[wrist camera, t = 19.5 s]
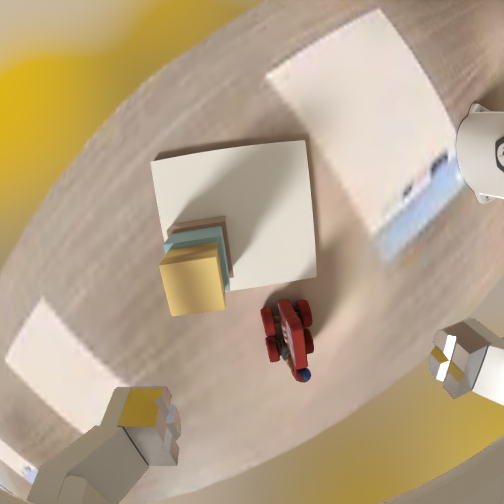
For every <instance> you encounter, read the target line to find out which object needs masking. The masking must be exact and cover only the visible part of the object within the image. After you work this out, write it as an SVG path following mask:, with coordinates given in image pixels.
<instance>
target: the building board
mask: <svg viewBox="0 0 504 504" xmlns="http://www.w3.org/2000/svg"><path fill="white" fill-rule="evenodd" d="M151 168H152V175H153V181H154V187H155V193H156V199H157V205H158V210H159V216H160V221H161V226H162V232H163V237H164V241H165V242H166V240H167V239H168V238H169V236H170V235H171V234H172V233H178V232H184V231H190V230H197V229H203V228H210V227H216V226H222V231H223V238H224V244H225V250H226V257H227V263H228V269H229V277H230V291H233V290H240V289H247V288H253V287H260V286H266V285H272V284H278V283H285V282H291V281H297V280H303V279H309V278H314V277H317V267H316V251H315V236H314V223H313V211H312V200H311V190H310V180H309V170H308V161H307V153H306V144H305V140H300V141H288V142H277V143H267V144H258V145H249V146H241V147H234V148H227V149H220V150H213V151H207V152H200V153H195V154H189V155H183V156H178V157H172V158H167V159H162V160H157V161H152V162H151ZM225 292H226V291H225Z"/></svg>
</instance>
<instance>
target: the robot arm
mask: <svg viewBox="0 0 504 504" xmlns="http://www.w3.org/2000/svg"><path fill="white" fill-rule="evenodd" d="M456 151H457V159H458V164H459V168H460V171H461V173H462V176H463V178H464V179H465V181H466V183H467V184H468V185H469V186H470V187H471V188H472V189H473V191H474V192H475V195H476V197H477V200H478V202H479V203H481V204H486V203H488V202H490V201H492V200H494V199H496V198H502V199H504V112H492V111H490V110H489V109H487V108H485V107H483V106H481V105H480V104H475V103H473V104H472V105H471V108H470V112H469V115H468V116H467V117H466V118H465V119H464V120H463V122H462V123H461V125H460V127H459V130H458V134H457V142H456ZM433 343H434V345H435V347H434V349H433V350H432V351H431V353H430V357H429V366H430V370H431V373H432V375H433V376H434V377H435V378H436V379H438V380H440V381H443V388H444V389H445V390H446V391H447V392H448V393H449V394H450V396H451V397H452V398H453V399H455V398H457V397H459V396H461V395H463V394H465V393H467V392H469V391H471V390H472V391H473V392H475V393H477V394H479V395H481V396H484V397H486V398H488V399H490V400H493V401H495V402H497V403H499V404H501V405H504V337H503V338H500V337H498V336H497V335H496V334H495V333H493V332H492V331H491V330H489V329H488V328H487V327H485V326H484V325H482V324H481V323H480V322H478V321H477V320H476V319H474V318H470V317H469V318H467V319H465V320H463V321H460V322H459V323H456V324H453V325H451V326H448V327H446V328H443V329H441V330H438V331H437V332H436V333H435V335H434V339H433ZM171 397H172V396H171V393H170V391H169V389H168V387H166V386H153V387H117V388H116V389H115V390H114V392H113V394H112V397H111V399H110V402H109V404H108V407H107V409H106V412H105V414H104V417H103V420H102V422H101V425H100V426H94V427H93V428H92V429H91V430H89V431H88V432H87V433H85V434H84V435H83V436H81V437H80V438H79V439H77V440H76V441H75V442H73V443H72V444H70V445H69V446H68V447H66V448H65V449H64V450H62V451H61V452H60V453H58V454H57V455H55V456H54V457H53V458H51V459H50V460H49V461H47V462H46V463H44V464H43V465H42V466H40V469H39V471H38V473H37V476H36V478H35V481H34V483H33V485H32V488H31V490H30V493H29V496H28V498H27V500H25V499H22V498H20V497H18V496H15V495H13V494H11V493H9V492H7V491H4V490H2V489H0V504H118V503H119V502H120V501H121V500H122V499H123V498H124V497H125V495H126V494H127V493H128V492H129V491H130V490H131V488H132V487H133V486H134V485H135V484H136V483H137V481H138V480H139V479H140V478H141V477H142V475H143V474H144V473H145V472H146V471H147V469H148V468H149V466H177V463H178V454H179V447H178V445H177V443H176V440H177V439H178V438H179V437H180V435H181V422H180V416H179V412H178V410H177V408H176V406H174V405H173V404H171ZM378 504H504V435H503V436H501V437H500V438H499V439H497V440H496V441H495V442H493V443H492V444H490V445H489V446H488V447H486V448H485V449H483V450H482V451H480V452H479V453H477V454H476V455H474V456H472V457H471V458H469V459H468V460H466V461H465V462H463V463H461V464H460V465H458V466H456V467H454V468H453V469H451V470H450V471H448V472H446V473H444V474H442V475H440V476H438V477H437V478H435V479H433V480H431V481H429V482H427V483H425V484H423V485H420V486H418V487H416V488H414V489H412V490H410V491H408V492H405V493H403V494H401V495H399V496H396V497H393V498H391V499H389V500H386V501H383V502H381V503H378Z"/></svg>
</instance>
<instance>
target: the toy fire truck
mask: <svg viewBox="0 0 504 504" xmlns="http://www.w3.org/2000/svg"><path fill="white" fill-rule="evenodd" d="M278 309H279V316H277V317H273V315H272V310H271V308H270V307H268V308H263V309H261V316H262V321H263V325H264V329H265V333H266V336H271V335H275V334H276V328H275V323H280V322H281V326H282V332H283V337H284V340H282V339H279V340H276V338H275V336H271V337H267V338H266V339H265V340H266V346H267V350H268V355H269V359H270V362H277V361H279V360H280V355H282V358H283V359H284V360H285V361H286V363H287V365H288V366H289V367H290V369H291V372H292V374H293V376H294V378H295V379H296V381H299V382H307V381H308V380H309V379H310V377H311V373H310V370H309V369H308V368H306V367H307V366H308V362H307V354H310V353H313V351H314V344H313V339H312V336H311V333H310V331H309V329H307V328H306V327H310V326H311V325H312V315H311V311H310V307H309V304H308V302H307V301H306V300H301V301H297V302H296V312H295V311H294V309H293V307H292V306H291V304H290V302H289V300H288V299H285V300H282V301H279V302H278ZM303 328H306V329H303Z"/></svg>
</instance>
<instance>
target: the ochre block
mask: <svg viewBox="0 0 504 504" xmlns="http://www.w3.org/2000/svg"><path fill="white" fill-rule="evenodd" d="M159 267H160V271H161V276H162V280H163V284H164V288H165V292H166V296H167V300H168V303H169V307H170V311H171V315H172V316H179V315H187V314H195V313H203V312H210V311H217V310H225V284H224V279H223V273H222V267H221V261H220V255H219V249H218V243H217V242H213V243H207V244H200V245H194V246H187V247H181V248H174V249H169V250H168V252H167V254H166V255H165V257H164V258H163V260H162V262H161V263H160V265H159Z"/></svg>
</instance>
